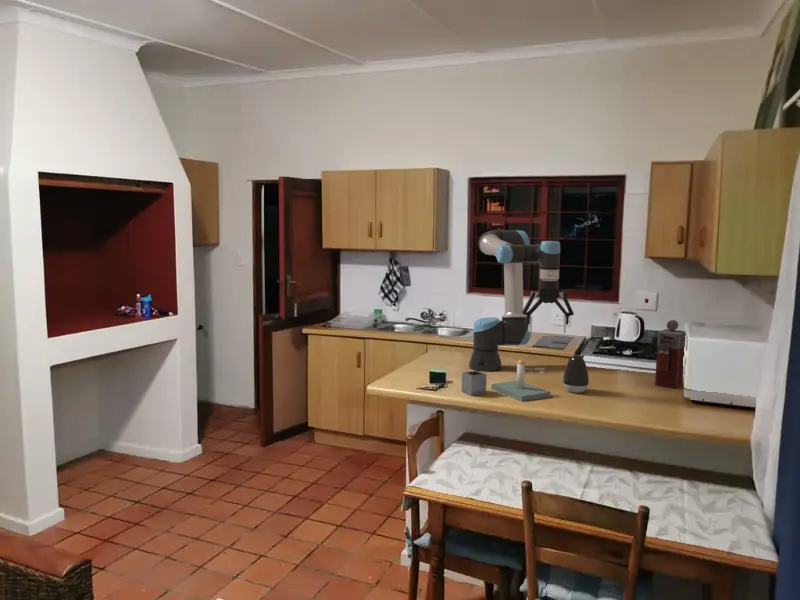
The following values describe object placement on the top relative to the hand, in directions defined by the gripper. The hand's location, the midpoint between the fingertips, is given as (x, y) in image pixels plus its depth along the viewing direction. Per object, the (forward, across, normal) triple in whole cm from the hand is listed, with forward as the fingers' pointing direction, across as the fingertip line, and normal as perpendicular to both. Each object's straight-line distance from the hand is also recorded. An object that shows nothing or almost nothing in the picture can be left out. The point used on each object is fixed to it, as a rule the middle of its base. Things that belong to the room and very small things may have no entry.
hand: (546, 332), depth 261 cm
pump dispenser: (+24, +13, 0) cm, 28 cm away
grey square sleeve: (+24, -29, -5) cm, 38 cm away
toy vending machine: (+24, +54, +11) cm, 61 cm away
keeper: (+24, -11, -4) cm, 27 cm away
